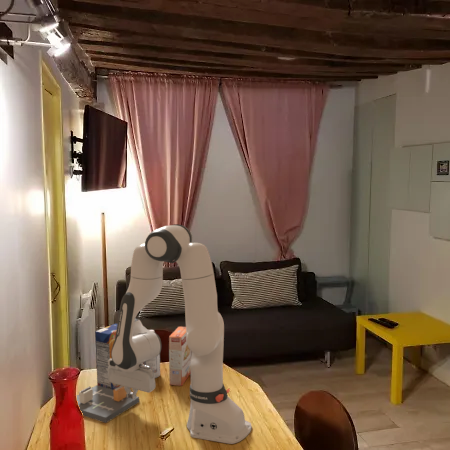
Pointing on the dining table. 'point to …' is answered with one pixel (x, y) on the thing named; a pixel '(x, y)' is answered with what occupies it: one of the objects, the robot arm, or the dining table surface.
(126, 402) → the console board
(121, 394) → the orange knob
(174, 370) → the cracker box
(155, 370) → the bath foam
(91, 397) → the ivory knob
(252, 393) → the dining table surface
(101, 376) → the juice carton
